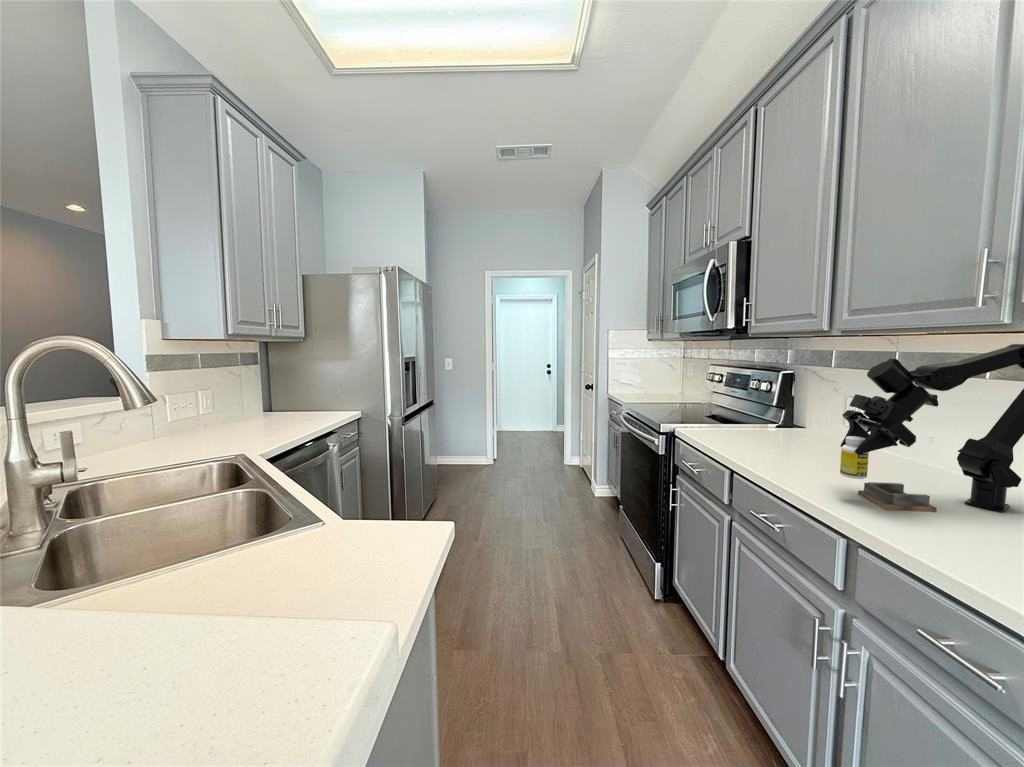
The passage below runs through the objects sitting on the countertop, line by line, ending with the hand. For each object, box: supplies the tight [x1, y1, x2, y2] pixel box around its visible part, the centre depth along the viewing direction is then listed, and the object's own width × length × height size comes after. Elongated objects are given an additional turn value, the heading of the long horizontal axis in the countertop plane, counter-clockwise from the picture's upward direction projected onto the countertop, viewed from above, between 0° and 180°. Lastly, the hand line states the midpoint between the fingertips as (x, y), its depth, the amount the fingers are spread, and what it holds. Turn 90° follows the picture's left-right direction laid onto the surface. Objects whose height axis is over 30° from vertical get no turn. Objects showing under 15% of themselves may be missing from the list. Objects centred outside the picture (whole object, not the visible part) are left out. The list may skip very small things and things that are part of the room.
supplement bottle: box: [839, 436, 870, 480], centre depth 109 cm, size 5×5×10 cm
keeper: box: [857, 481, 938, 513], centre depth 108 cm, size 11×11×4 cm
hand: (848, 450), depth 109 cm, fingers closed on supplement bottle, 5 cm apart
